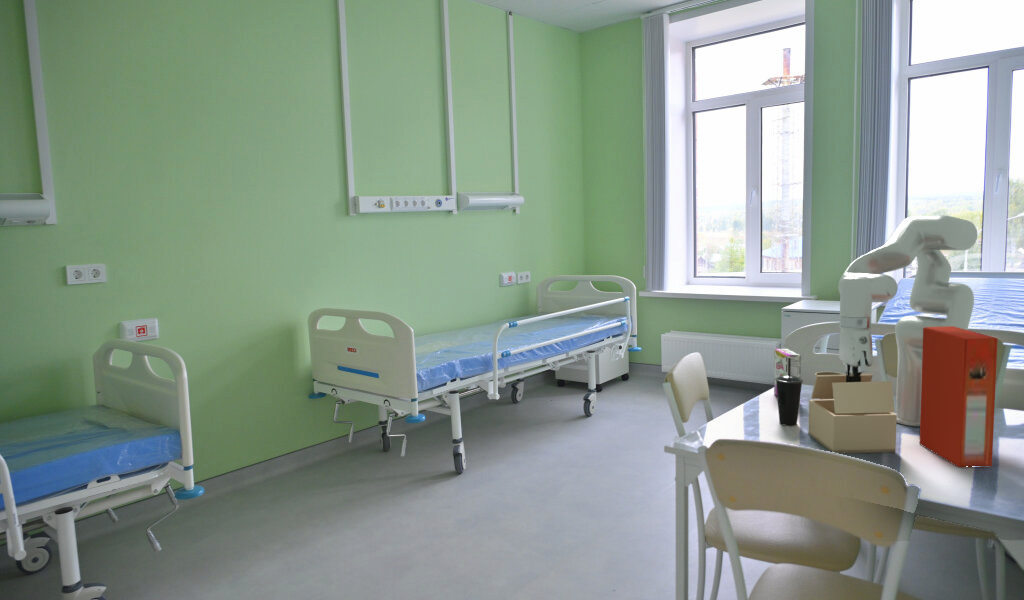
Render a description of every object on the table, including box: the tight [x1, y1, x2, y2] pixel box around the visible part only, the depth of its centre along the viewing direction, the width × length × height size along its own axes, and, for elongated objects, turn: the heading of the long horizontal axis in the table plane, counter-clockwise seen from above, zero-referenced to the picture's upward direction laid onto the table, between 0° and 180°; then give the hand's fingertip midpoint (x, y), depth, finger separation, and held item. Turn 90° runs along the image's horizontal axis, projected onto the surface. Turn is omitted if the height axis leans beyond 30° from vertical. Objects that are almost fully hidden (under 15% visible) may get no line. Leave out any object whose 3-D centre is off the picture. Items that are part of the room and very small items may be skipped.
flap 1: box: [811, 373, 874, 400], centre depth 187 cm, size 15×8×1 cm
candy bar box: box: [773, 348, 802, 404], centre depth 227 cm, size 11×5×16 cm, turn 179°
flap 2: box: [832, 380, 896, 414], centre depth 175 cm, size 15×8×1 cm
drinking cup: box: [775, 358, 804, 427], centre depth 200 cm, size 8×8×20 cm
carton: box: [808, 399, 898, 454], centre depth 183 cm, size 16×16×10 cm
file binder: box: [919, 326, 998, 468], centre depth 170 cm, size 8×17×32 cm, turn 177°
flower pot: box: [814, 371, 846, 400], centre depth 225 cm, size 9×9×9 cm
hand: (853, 389), depth 180 cm, fingers closed
